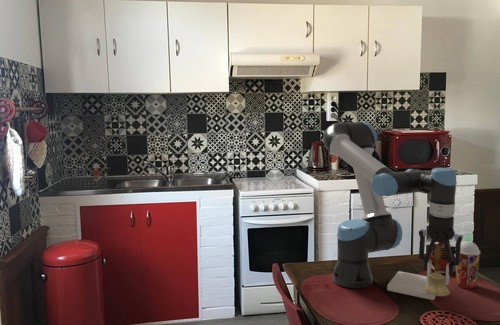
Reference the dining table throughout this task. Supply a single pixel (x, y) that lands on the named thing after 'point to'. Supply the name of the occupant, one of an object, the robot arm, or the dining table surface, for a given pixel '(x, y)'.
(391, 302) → the dining table surface
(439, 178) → the robot arm
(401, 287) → the stand
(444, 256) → the cake
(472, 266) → the smoothie
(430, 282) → the hand bell
